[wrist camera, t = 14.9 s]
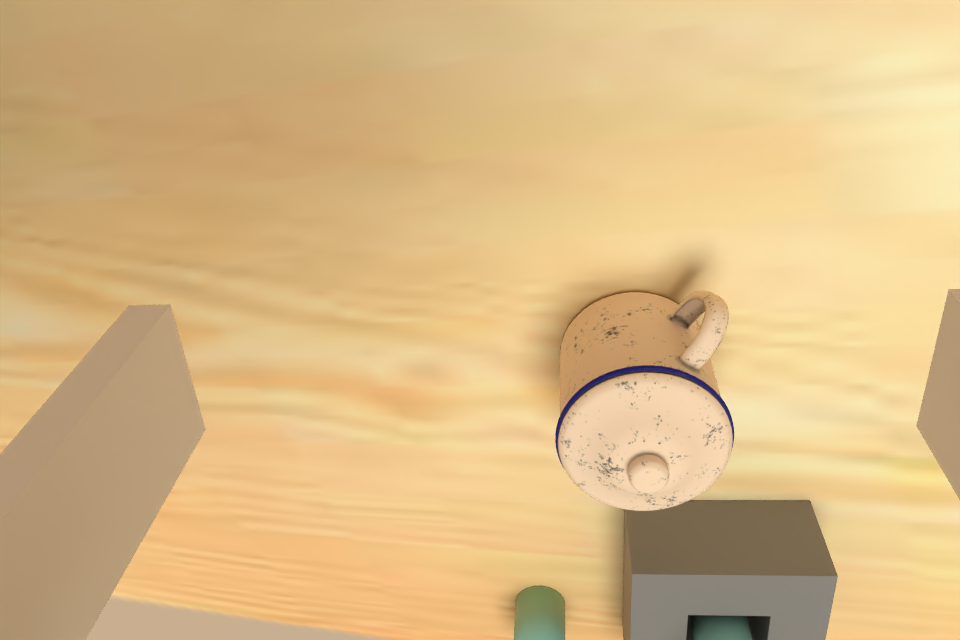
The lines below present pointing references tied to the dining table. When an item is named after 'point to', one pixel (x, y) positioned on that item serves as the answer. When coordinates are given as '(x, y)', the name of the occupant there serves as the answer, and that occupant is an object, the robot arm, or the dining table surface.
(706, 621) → the long pin
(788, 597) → the hole block
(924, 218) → the dining table surface
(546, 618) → the short pin
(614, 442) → the teacup with lid
